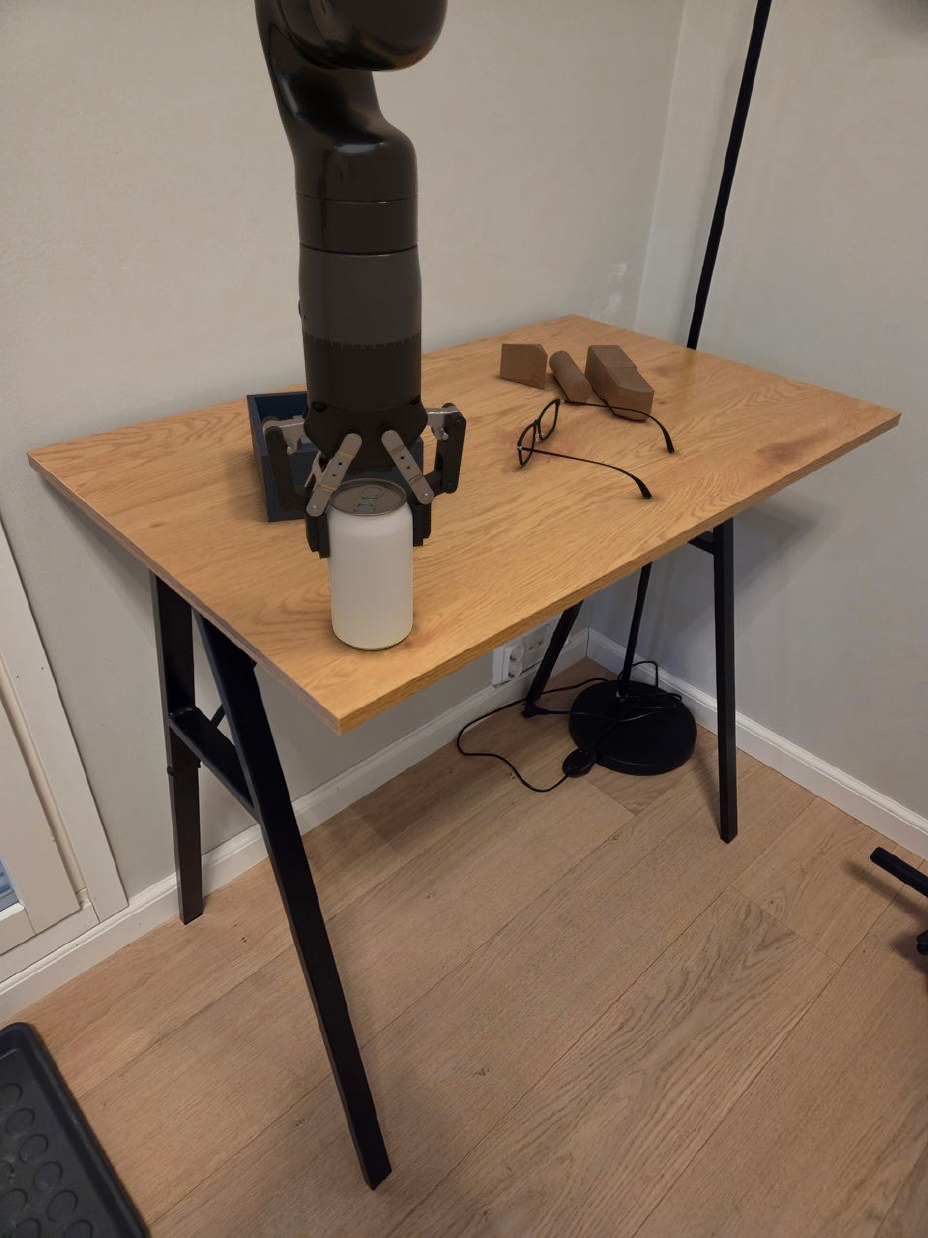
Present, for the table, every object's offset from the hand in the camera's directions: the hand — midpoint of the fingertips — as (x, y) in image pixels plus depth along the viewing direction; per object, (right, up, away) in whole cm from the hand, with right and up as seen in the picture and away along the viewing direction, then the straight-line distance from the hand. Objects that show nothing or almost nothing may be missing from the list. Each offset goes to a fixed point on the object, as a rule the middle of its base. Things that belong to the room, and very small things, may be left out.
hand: (370, 546), depth 59 cm
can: (0, -6, +5) cm, 8 cm away
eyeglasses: (+22, +13, +32) cm, 41 cm away
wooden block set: (+21, +24, +48) cm, 58 cm away
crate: (-7, +10, +26) cm, 28 cm away
